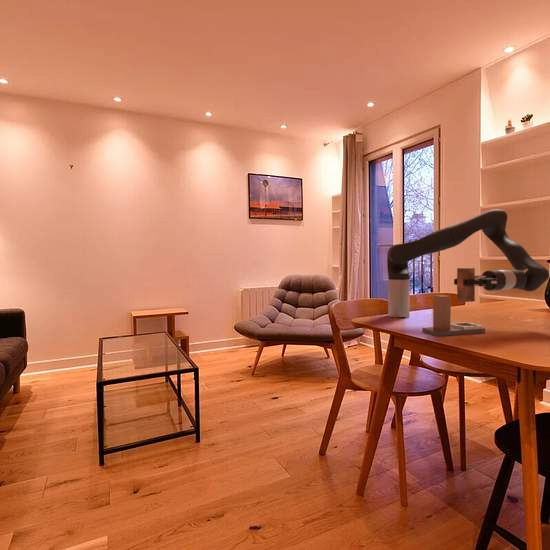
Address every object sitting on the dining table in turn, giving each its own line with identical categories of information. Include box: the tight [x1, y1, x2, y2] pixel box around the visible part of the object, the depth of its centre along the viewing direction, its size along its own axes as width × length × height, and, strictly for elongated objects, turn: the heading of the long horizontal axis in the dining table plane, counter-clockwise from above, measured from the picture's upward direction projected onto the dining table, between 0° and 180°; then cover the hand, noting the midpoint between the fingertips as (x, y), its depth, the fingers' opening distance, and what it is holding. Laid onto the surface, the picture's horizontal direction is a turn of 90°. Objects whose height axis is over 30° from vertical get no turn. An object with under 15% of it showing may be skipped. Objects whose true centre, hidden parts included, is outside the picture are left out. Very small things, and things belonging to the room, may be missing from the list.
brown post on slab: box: [421, 294, 486, 337], centre depth 133 cm, size 20×8×14 cm, turn 104°
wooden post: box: [456, 267, 476, 303], centre depth 134 cm, size 4×4×12 cm
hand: (459, 282), depth 133 cm, fingers closed on wooden post, 4 cm apart
